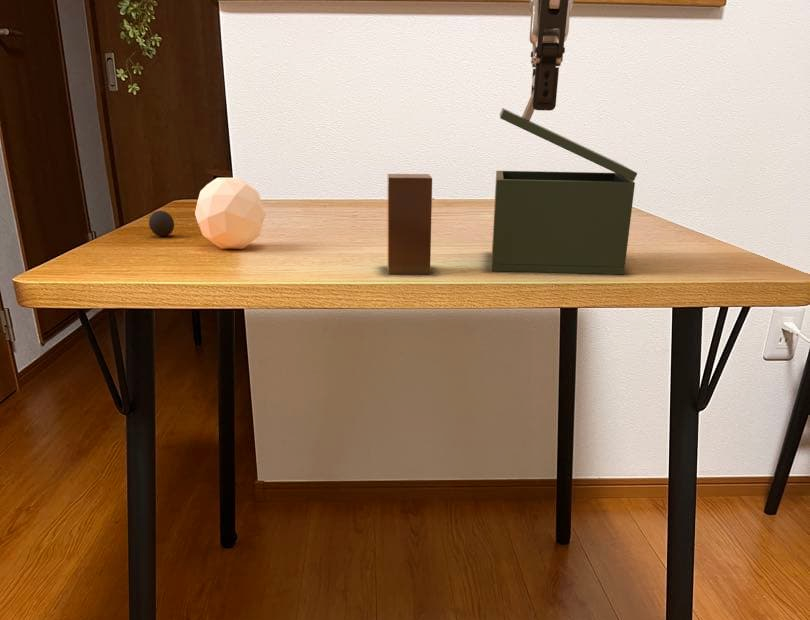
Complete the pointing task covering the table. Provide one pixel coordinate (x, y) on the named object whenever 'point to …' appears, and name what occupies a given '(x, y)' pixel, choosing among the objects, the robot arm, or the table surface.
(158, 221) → the marker ball
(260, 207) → the geometric ball
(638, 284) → the table surface
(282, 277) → the table surface
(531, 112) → the bin lid
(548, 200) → the bin
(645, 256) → the table surface
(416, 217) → the block
